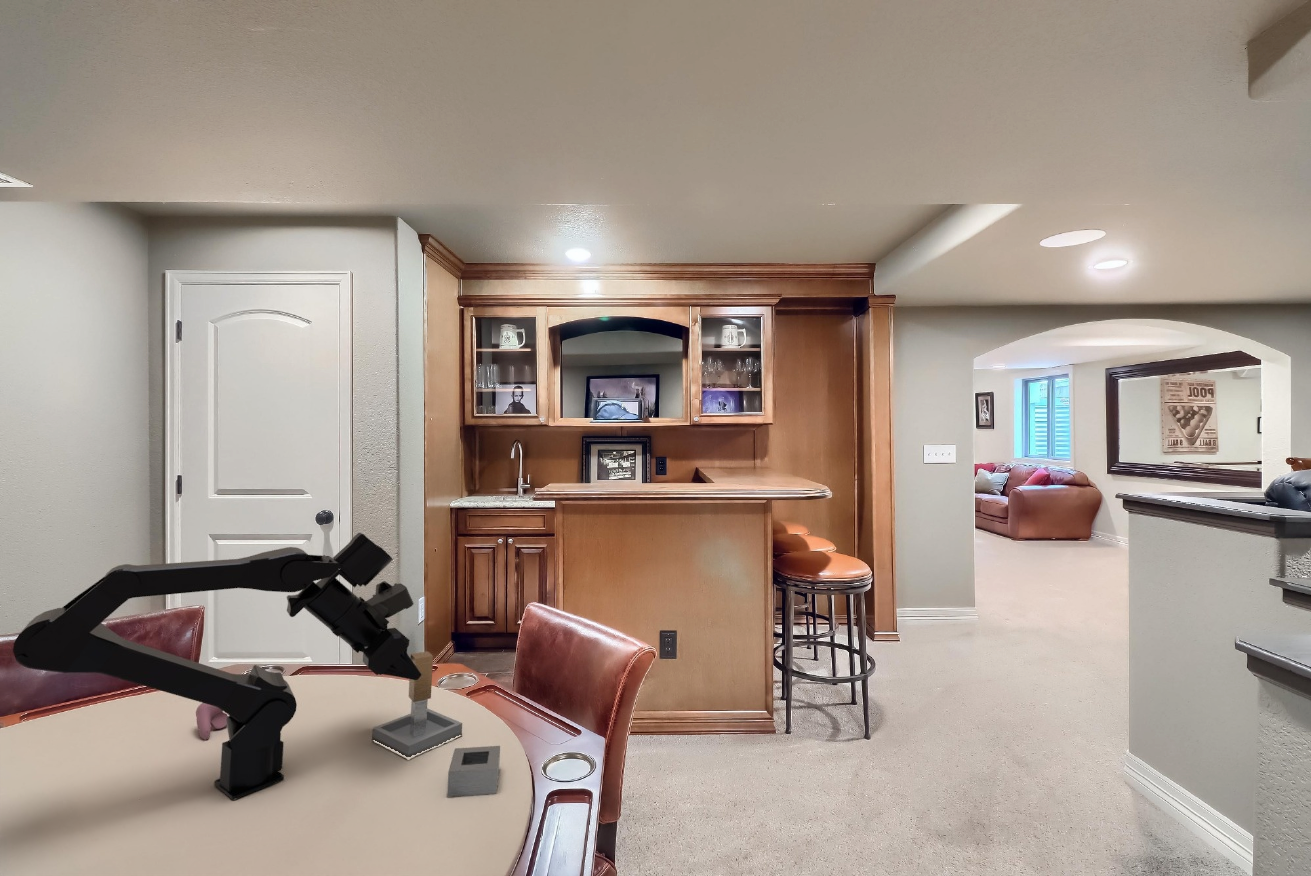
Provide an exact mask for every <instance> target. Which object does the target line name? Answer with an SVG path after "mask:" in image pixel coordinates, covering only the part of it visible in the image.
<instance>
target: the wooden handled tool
mask: <svg viewBox="0 0 1311 876" xmlns="http://www.w3.org/2000/svg"><path fill="white" fill-rule="evenodd" d="M410 658H411V660H412V661H413V663H414V664H415V666H416V667H417V668H418V670H419V671H420V673H421V677H420V678H419V679H418V680H412V679H408V680H409V682H408V683H409V684H408V698H409V699H410V700H411V702H410V714H411V721H410V734H411V735H412V737H413V738H415V737H419V736H423V735H426V723H427V708H428V700H430V699H432V685H433V684H432V682H433V666H434V665H433V663H434V656H433V654H432V653H430V652H429V651H426V650H425V651H421V652H417V653H411V654H410Z"/></svg>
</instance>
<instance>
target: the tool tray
mask: <svg viewBox="0 0 1311 876" xmlns="http://www.w3.org/2000/svg"><path fill="white" fill-rule="evenodd" d="M410 721H411V713H408V714H406V715H403V716H400V717H398V718H395V719H392V720H389V721H387V722H385V723H381V724H379V725H377V726H376V725H375V726H374V727H372V730H371V731H372V733H371V741H372V740H375V741H377V742H379V743H381V744H383V745H385V746H387V747H390V748H391V749H394V750H395V751H398V752H399V753H401V754H402V755H405V756H406V757H411V756H412V755H416V754H417V753H421V752H422V751H425V750H427V749H430V748H432V747H434V746H438V745H439V744H442V743H443V742H446V741H447V740H450V739H451V738H455V737H456V736H459V735H461V734H462V735H463V722H460V721H458V720H456V719H453V718H452V717H449V716H446V715H445V714H442V713H439V712H437V711H435V710H432V709H430V708H428V707H427V723H426V735H423V736H419V737H415V738H413V737H412V735H411V734H410Z"/></svg>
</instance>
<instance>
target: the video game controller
mask: <svg viewBox="0 0 1311 876" xmlns="http://www.w3.org/2000/svg"><path fill="white" fill-rule="evenodd" d="M195 716H196V726H197V729H198V730H197V731H198V734H199V736H200V738H201V739H202V740H204V741H207V740H208V739H209V738H210V735H211V731H212V729H214V730H221V729H222V728H224V727H227V723H226V718H227V717H228V716H229V715H228V714H227V713H225V712H224V711H223V710H221V709H220V708H218V707H216V706H212V705H209V704H205V703H202V702H201V703H200V704H199V705H198V707H197V708H196V710H195Z"/></svg>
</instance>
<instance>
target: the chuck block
mask: <svg viewBox="0 0 1311 876" xmlns="http://www.w3.org/2000/svg"><path fill="white" fill-rule="evenodd" d="M500 756H501V745H491V746H490V745H488V746H473V747H457V748H454V750H453V754H452V757H451V762H450V763H449V767H448V768H449V769H448V772H447V773H448V775H447V789H446V790H447V791H446V792H447V793H446V795H447V796H446V798H455V797H457V798H458V797H469V796H481V795H494V794H497V788H498V782H499V773H500V760H501V759H500V758H501V757H500Z"/></svg>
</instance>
